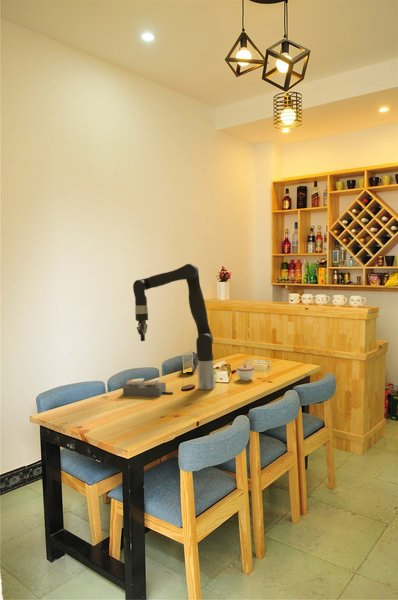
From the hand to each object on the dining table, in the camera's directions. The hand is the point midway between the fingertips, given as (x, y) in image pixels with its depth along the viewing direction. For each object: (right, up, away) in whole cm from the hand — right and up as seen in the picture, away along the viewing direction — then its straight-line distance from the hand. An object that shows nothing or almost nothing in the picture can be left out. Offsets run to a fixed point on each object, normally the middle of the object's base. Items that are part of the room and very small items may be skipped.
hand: (142, 340), depth 275 cm
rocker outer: (-3, -24, -10) cm, 26 cm away
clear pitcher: (+29, -25, +44) cm, 58 cm away
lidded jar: (+64, -26, +13) cm, 70 cm away
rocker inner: (+8, -24, -12) cm, 27 cm away
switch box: (+5, -30, -11) cm, 32 cm away
